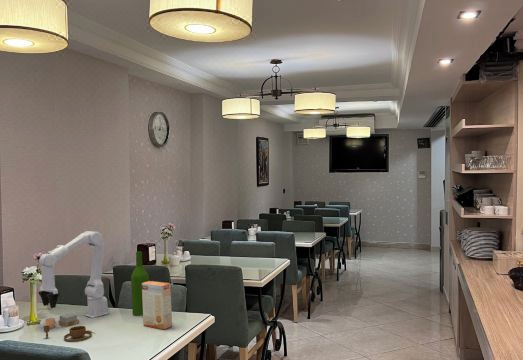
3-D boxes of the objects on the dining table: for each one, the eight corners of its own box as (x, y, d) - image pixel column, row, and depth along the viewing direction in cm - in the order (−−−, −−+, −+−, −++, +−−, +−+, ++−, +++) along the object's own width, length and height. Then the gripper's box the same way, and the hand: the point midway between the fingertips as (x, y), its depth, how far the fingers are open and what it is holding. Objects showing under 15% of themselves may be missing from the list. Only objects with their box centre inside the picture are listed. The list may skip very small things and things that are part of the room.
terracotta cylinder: (52, 325, 244) (52, 317, 244) (57, 327, 241) (56, 318, 241) (44, 327, 241) (43, 319, 241) (48, 329, 238) (47, 321, 238)
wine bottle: (144, 310, 265) (141, 249, 265) (153, 313, 259) (150, 251, 258) (129, 314, 259) (126, 252, 258) (138, 317, 253) (135, 253, 252)
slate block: (71, 317, 249) (71, 312, 249) (77, 319, 245) (76, 314, 245) (59, 320, 244) (59, 315, 244) (65, 323, 240) (65, 317, 240)
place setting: (69, 347, 213) (68, 333, 213) (41, 340, 224) (40, 327, 224) (102, 335, 228) (101, 322, 228) (74, 328, 239) (73, 316, 239)
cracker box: (172, 326, 235) (171, 282, 234) (163, 330, 230) (161, 285, 229) (152, 322, 243) (150, 280, 242) (143, 325, 238) (141, 282, 237)
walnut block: (72, 322, 250) (72, 317, 250) (79, 324, 245) (79, 319, 245) (58, 325, 245) (58, 320, 245) (65, 328, 240) (65, 323, 240)
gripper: (33, 278, 242) (34, 306, 243) (46, 282, 233) (48, 310, 233) (47, 275, 248) (48, 302, 248) (61, 279, 238) (62, 307, 238)
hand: (49, 306), depth 241 cm, fingers open, 7 cm apart
